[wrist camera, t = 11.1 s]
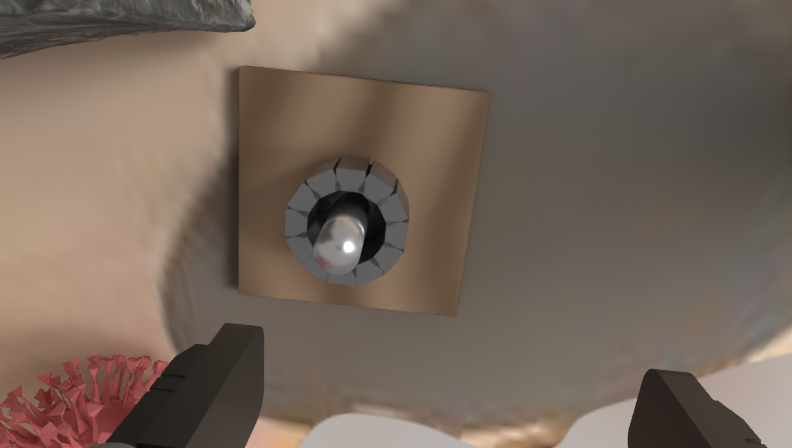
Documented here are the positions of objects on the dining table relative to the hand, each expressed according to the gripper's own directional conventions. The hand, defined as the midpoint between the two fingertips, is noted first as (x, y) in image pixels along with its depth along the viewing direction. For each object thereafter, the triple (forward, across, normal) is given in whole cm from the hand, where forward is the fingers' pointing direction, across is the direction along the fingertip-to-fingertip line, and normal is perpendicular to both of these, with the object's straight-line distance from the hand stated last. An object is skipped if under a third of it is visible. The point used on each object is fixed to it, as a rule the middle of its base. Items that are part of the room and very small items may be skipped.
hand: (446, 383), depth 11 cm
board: (+22, +4, +2) cm, 22 cm away
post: (+20, +4, +2) cm, 21 cm away
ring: (+19, +4, +2) cm, 19 cm away
